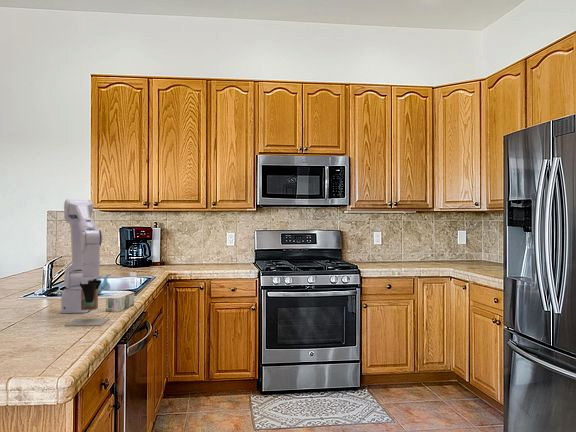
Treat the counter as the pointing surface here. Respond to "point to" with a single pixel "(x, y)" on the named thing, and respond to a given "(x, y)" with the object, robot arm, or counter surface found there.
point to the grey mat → (87, 322)
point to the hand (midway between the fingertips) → (90, 301)
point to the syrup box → (119, 301)
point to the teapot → (103, 284)
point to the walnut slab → (91, 305)
